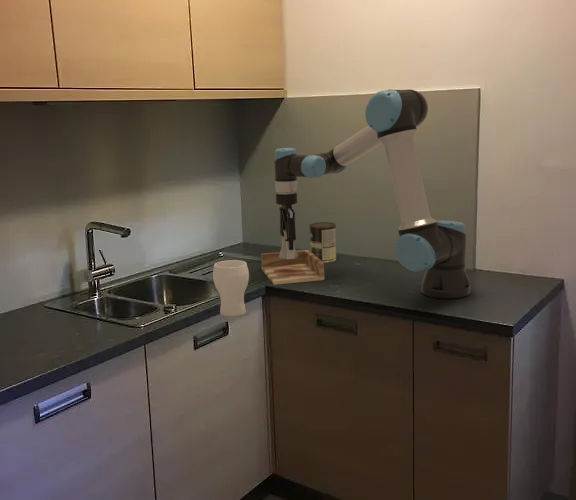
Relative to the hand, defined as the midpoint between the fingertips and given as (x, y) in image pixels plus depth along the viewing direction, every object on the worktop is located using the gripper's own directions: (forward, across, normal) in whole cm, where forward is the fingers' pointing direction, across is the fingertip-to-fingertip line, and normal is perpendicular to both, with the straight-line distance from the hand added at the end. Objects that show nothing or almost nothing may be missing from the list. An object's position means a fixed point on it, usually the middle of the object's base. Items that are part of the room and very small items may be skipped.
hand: (288, 256), depth 238 cm
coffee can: (+7, +18, -18) cm, 26 cm away
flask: (+1, 0, 0) cm, 1 cm away
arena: (+7, 0, -1) cm, 7 cm away
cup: (+7, -37, +26) cm, 46 cm away
